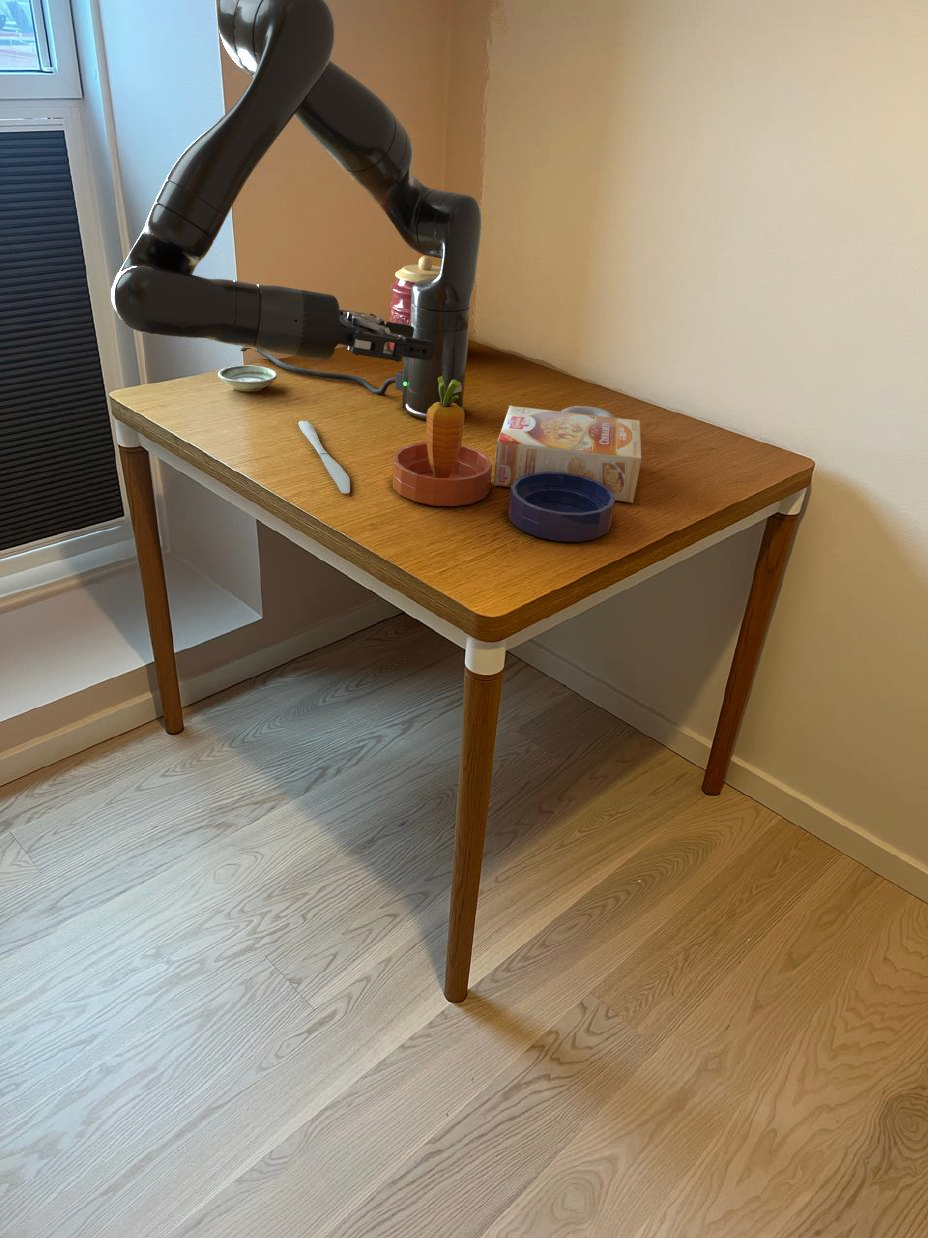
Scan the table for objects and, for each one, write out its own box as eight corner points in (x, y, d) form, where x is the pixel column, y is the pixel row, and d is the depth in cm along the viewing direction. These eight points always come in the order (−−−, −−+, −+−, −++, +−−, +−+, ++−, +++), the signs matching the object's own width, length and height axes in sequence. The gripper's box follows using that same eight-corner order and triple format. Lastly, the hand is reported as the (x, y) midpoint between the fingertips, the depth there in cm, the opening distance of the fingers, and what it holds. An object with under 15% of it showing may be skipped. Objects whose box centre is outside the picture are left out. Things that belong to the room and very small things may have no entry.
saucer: (289, 387, 156) (289, 373, 155) (249, 400, 149) (248, 385, 148) (247, 374, 160) (246, 360, 159) (206, 386, 153) (205, 372, 152)
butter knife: (315, 419, 142) (296, 419, 141) (359, 492, 121) (337, 493, 120) (315, 423, 142) (296, 423, 141) (358, 496, 121) (336, 497, 120)
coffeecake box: (642, 456, 121) (496, 439, 123) (633, 505, 125) (492, 488, 127) (640, 417, 134) (508, 403, 135) (632, 463, 137) (504, 448, 139)
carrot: (422, 477, 127) (427, 370, 119) (457, 478, 127) (465, 372, 119) (423, 492, 122) (429, 382, 115) (460, 493, 123) (469, 383, 115)
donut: (551, 440, 144) (614, 448, 142) (553, 419, 142) (617, 427, 141) (558, 420, 152) (618, 427, 151) (560, 399, 150) (621, 407, 149)
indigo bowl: (487, 518, 118) (490, 489, 116) (547, 490, 127) (551, 463, 125) (571, 554, 111) (576, 524, 109) (628, 522, 120) (634, 494, 118)
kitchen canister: (381, 354, 176) (383, 258, 167) (396, 337, 187) (399, 246, 178) (447, 362, 175) (453, 266, 166) (459, 345, 186) (465, 253, 177)
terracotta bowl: (372, 485, 124) (373, 457, 122) (437, 461, 133) (438, 434, 131) (445, 517, 117) (447, 488, 115) (508, 489, 126) (511, 462, 124)
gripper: (310, 301, 100) (447, 324, 107) (286, 278, 112) (411, 300, 118) (300, 369, 103) (434, 388, 110) (278, 340, 115) (400, 358, 121)
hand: (422, 342), depth 114 cm, fingers open, 8 cm apart
